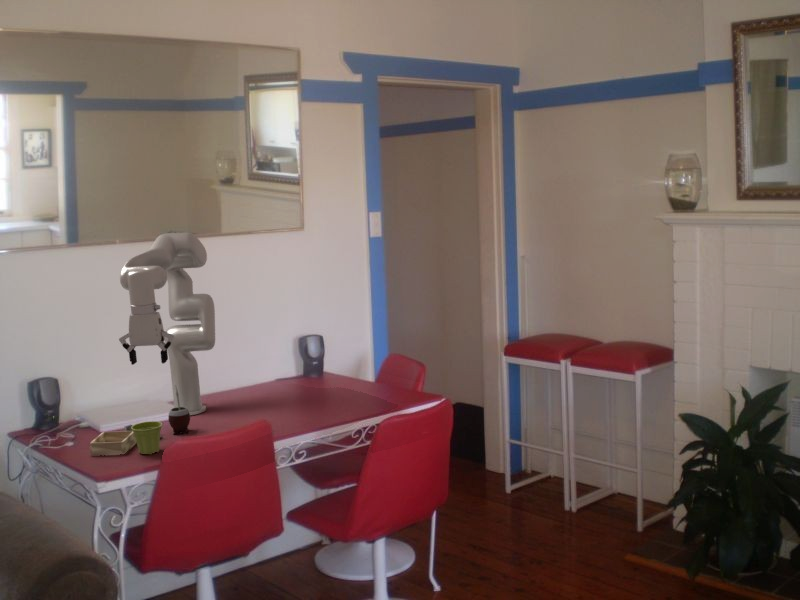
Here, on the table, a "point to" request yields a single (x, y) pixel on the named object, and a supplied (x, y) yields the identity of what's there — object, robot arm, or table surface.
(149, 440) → the plant pot
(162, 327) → the robot arm
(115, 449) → the holder
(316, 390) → the table surface
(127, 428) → the clip
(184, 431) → the mate gourd
